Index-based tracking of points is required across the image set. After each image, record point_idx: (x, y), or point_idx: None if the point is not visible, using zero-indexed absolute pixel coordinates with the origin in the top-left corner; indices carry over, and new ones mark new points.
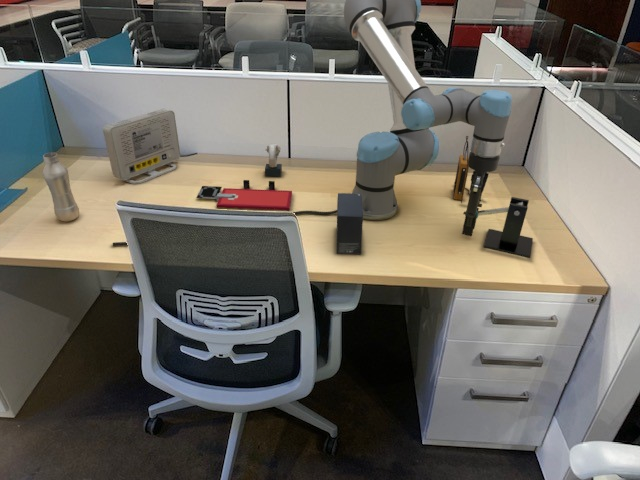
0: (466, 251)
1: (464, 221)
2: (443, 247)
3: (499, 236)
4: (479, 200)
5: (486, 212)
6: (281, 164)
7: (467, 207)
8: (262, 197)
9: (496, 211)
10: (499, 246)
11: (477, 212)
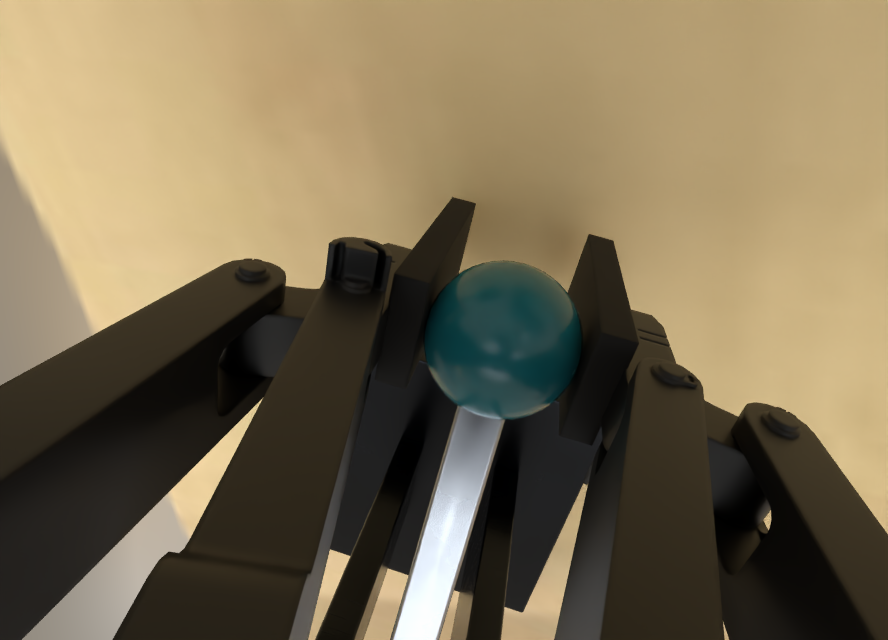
0: (318, 213)
1: (423, 238)
2: (315, 25)
3: (505, 458)
4: (584, 518)
5: (432, 499)
6: None
7: (133, 318)
8: None
9: (403, 596)
10: (372, 430)
11: (459, 409)
